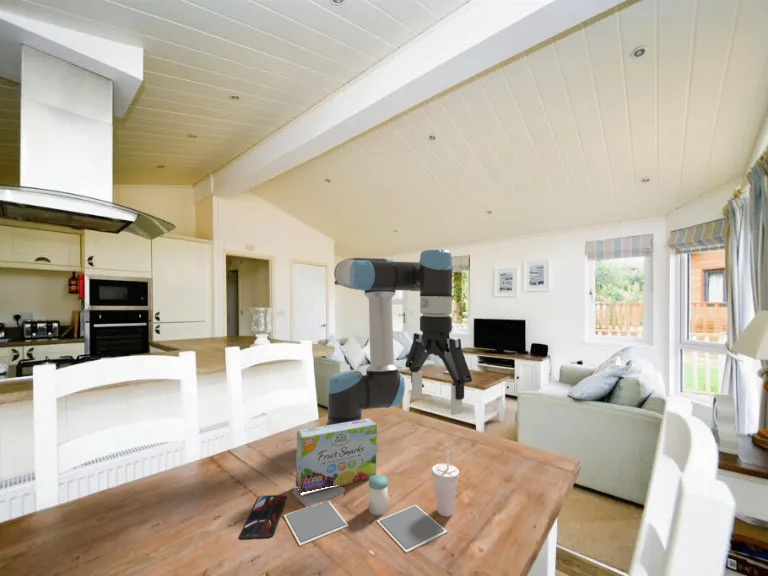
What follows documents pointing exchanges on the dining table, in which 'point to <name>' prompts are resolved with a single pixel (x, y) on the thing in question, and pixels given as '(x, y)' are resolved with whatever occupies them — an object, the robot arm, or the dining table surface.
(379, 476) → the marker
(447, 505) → the smoothie
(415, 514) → the mat drink
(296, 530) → the plate
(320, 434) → the snack box
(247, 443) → the dining table surface
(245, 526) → the smartphone
